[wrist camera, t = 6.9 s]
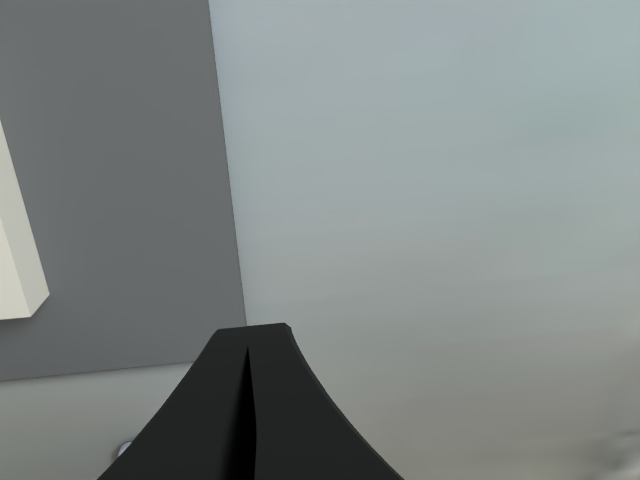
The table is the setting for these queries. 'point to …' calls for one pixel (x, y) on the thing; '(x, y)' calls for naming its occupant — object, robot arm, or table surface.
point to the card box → (17, 248)
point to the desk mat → (118, 183)
